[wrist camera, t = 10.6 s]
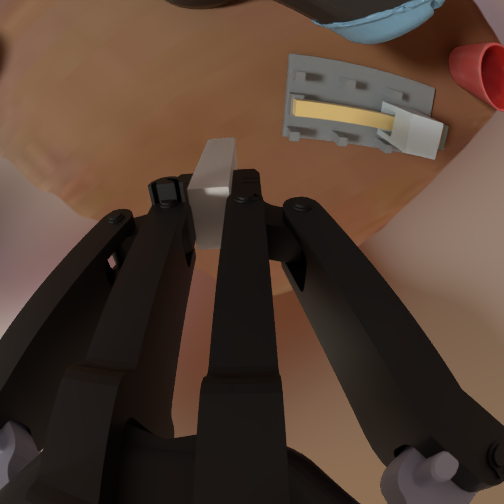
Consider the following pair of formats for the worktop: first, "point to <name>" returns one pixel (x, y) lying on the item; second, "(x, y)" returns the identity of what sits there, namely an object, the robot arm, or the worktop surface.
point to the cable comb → (347, 102)
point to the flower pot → (480, 71)
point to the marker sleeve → (412, 131)
